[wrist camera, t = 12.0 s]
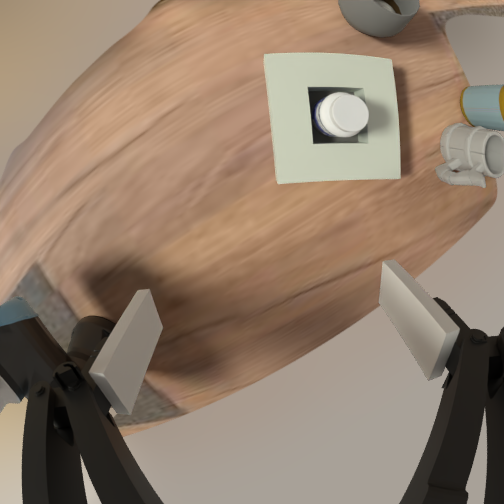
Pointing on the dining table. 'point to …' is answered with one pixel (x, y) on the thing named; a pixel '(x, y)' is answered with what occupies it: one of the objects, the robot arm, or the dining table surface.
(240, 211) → the dining table surface
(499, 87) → the bottle
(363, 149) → the socket block
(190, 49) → the dining table surface
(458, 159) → the mug
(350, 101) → the pill bottle
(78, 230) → the dining table surface
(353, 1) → the cup
